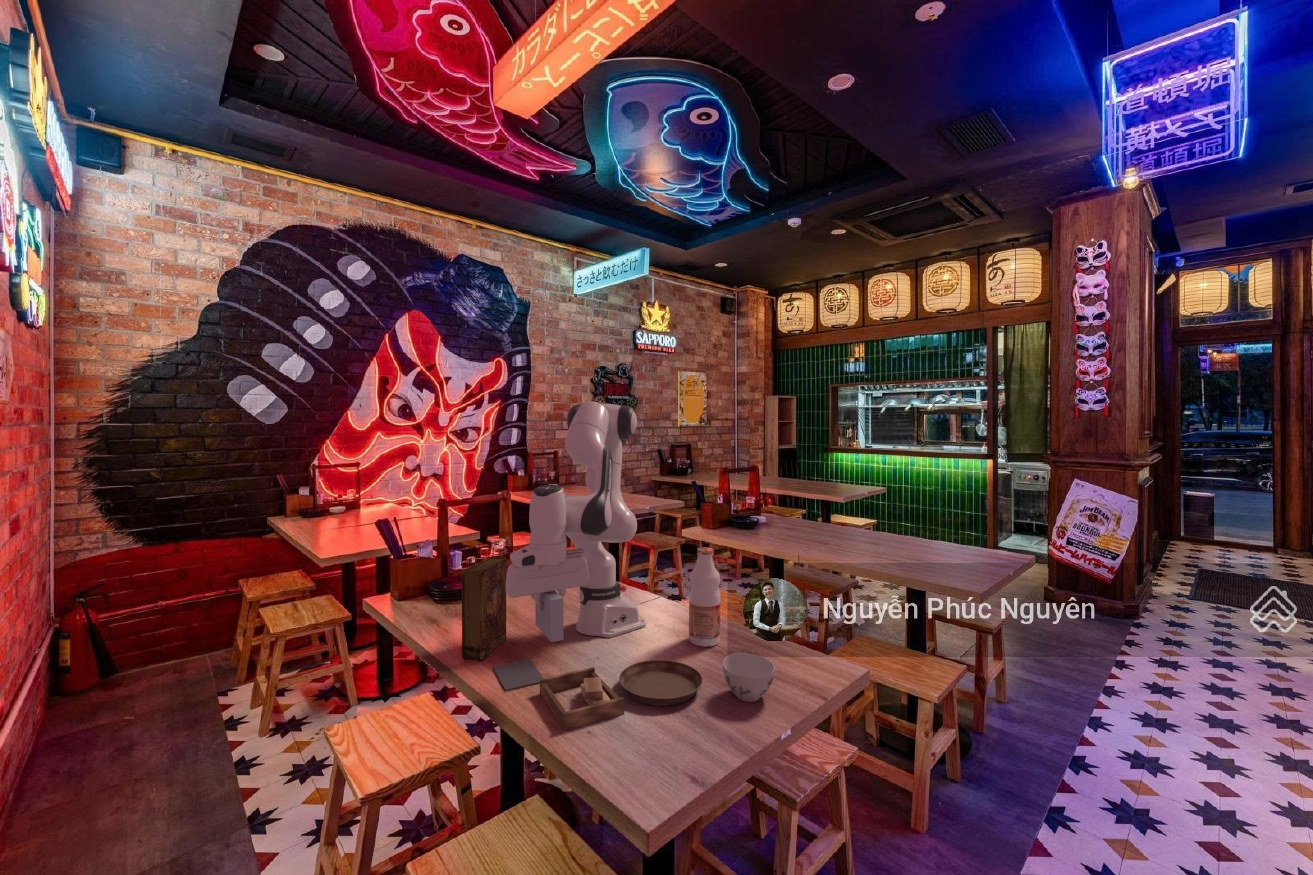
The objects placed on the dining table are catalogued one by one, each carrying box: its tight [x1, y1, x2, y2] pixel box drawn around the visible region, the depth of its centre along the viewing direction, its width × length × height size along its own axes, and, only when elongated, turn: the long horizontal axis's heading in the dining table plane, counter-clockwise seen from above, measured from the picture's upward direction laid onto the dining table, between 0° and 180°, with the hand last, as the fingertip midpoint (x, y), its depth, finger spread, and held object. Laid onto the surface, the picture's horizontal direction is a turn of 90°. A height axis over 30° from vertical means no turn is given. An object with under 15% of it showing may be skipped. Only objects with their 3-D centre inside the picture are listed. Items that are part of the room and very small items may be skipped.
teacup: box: [722, 652, 776, 703], centre depth 131 cm, size 15×12×8 cm
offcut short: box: [584, 676, 603, 702], centre depth 128 cm, size 4×7×2 cm, turn 10°
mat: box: [492, 658, 545, 692], centre depth 141 cm, size 10×14×1 cm
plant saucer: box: [618, 659, 704, 707], centre depth 134 cm, size 21×21×3 cm
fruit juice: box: [688, 546, 722, 648], centre depth 163 cm, size 9×9×28 cm
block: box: [534, 590, 565, 643], centre depth 132 cm, size 3×12×10 cm, turn 30°
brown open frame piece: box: [539, 666, 625, 732], centre depth 127 cm, size 14×18×4 cm
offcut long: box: [580, 684, 610, 706], centre depth 128 cm, size 4×10×2 cm, turn 25°
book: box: [461, 556, 507, 662], centre depth 156 cm, size 16×6×25 cm, turn 168°
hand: (548, 608), depth 132 cm, fingers closed on block, 3 cm apart
